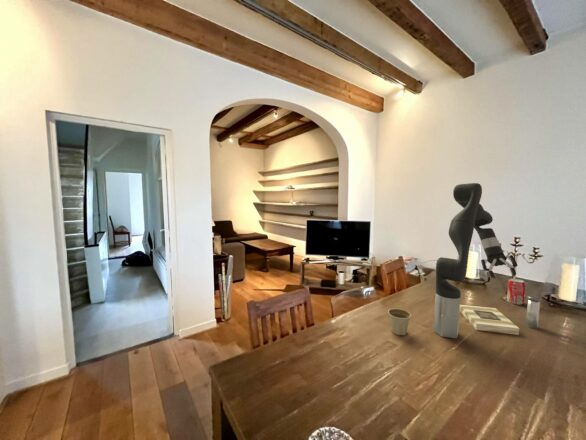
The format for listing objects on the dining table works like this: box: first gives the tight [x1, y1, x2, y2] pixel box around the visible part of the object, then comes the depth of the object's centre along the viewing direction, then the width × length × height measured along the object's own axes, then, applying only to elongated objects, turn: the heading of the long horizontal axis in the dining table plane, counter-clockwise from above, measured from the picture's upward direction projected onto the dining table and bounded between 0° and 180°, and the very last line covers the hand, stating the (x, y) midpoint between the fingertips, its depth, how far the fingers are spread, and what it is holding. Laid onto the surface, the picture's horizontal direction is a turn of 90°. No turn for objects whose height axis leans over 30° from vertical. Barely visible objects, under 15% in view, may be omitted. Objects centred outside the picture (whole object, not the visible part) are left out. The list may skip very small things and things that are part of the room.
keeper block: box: [459, 304, 520, 336], centre depth 119 cm, size 20×16×3 cm
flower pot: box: [387, 308, 412, 336], centre depth 110 cm, size 9×9×9 cm
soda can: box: [506, 278, 526, 306], centre depth 140 cm, size 7×7×13 cm
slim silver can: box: [525, 294, 542, 330], centre depth 114 cm, size 5×5×14 cm
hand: (504, 277), depth 128 cm, fingers open, 8 cm apart
